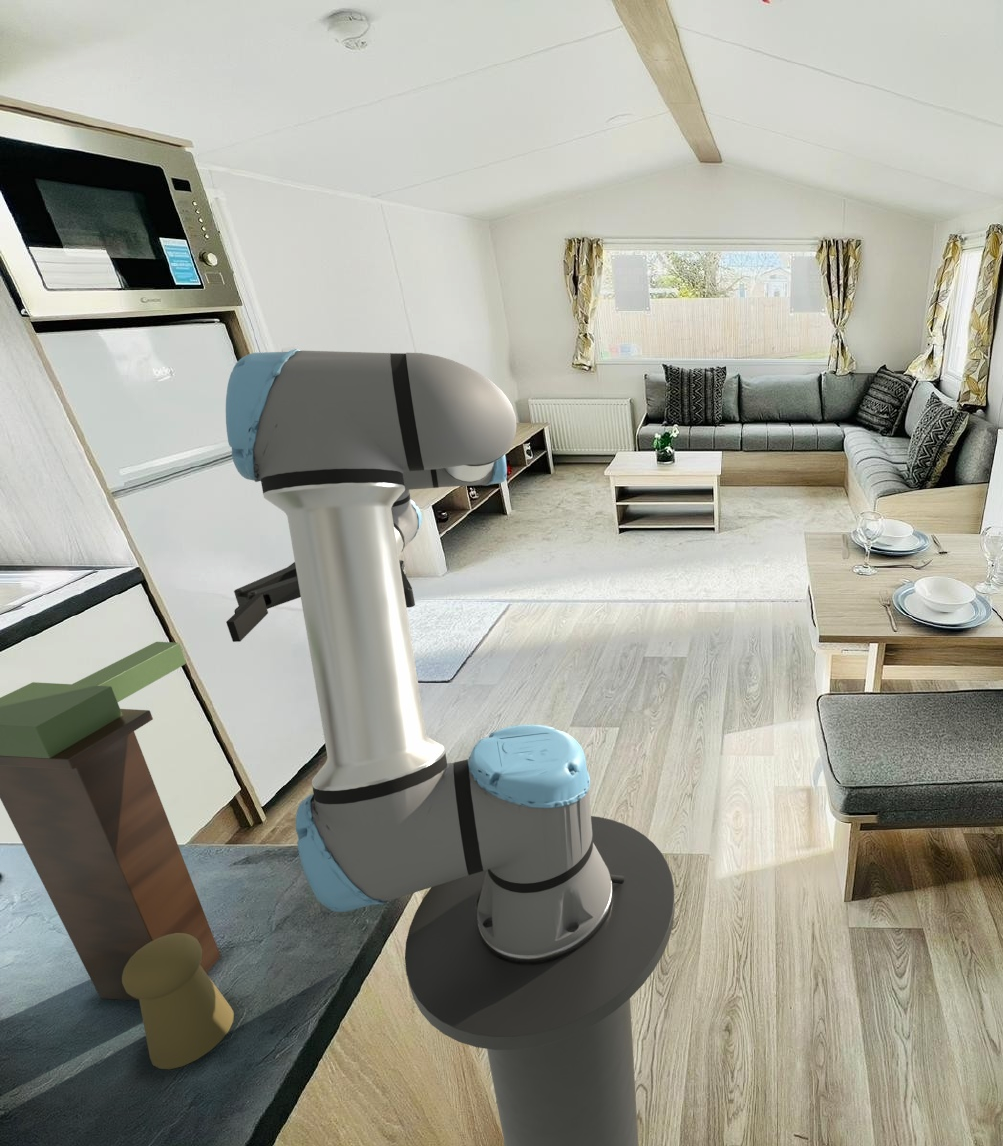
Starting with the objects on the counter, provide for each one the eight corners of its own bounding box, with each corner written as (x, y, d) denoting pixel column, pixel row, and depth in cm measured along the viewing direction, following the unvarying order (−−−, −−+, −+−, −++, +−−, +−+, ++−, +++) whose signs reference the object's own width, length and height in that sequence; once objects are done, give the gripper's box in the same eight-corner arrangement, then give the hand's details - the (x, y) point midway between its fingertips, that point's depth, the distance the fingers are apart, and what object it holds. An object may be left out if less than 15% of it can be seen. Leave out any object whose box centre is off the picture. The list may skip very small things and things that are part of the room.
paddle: (209, 664, 65) (200, 638, 64) (49, 758, 51) (35, 726, 50) (141, 661, 65) (131, 634, 64) (-36, 753, 51) (-52, 722, 50)
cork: (188, 1075, 57) (149, 990, 53) (131, 1061, 58) (89, 976, 54) (250, 1009, 62) (219, 927, 58) (197, 997, 63) (163, 915, 59)
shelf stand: (238, 948, 68) (150, 709, 57) (180, 1014, 62) (68, 759, 51) (146, 942, 68) (41, 704, 57) (79, 1008, 62) (-55, 752, 51)
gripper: (262, 528, 89) (165, 604, 71) (454, 530, 94) (409, 601, 76) (276, 576, 93) (186, 660, 74) (460, 575, 98) (419, 654, 79)
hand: (299, 630), depth 75 cm, fingers open, 13 cm apart
